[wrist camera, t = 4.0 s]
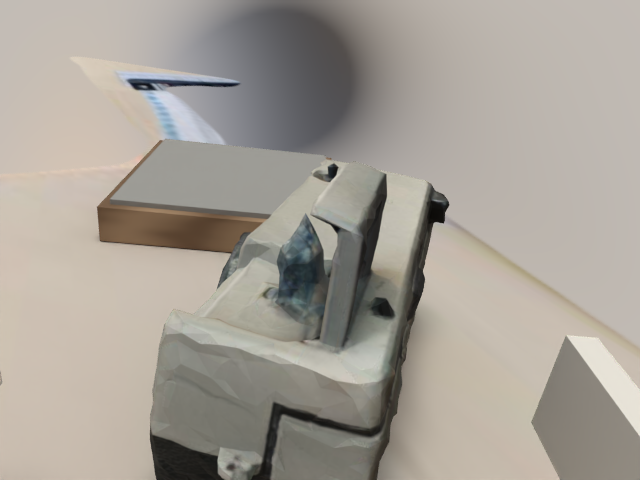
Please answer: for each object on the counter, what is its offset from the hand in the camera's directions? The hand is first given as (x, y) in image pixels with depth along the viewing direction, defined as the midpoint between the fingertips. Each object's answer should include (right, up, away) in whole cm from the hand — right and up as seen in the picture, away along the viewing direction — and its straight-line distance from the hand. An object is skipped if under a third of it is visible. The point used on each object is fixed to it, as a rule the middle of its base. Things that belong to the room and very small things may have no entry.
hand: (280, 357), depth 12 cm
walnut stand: (-5, +5, +22) cm, 23 cm away
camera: (0, -3, +8) cm, 9 cm away
